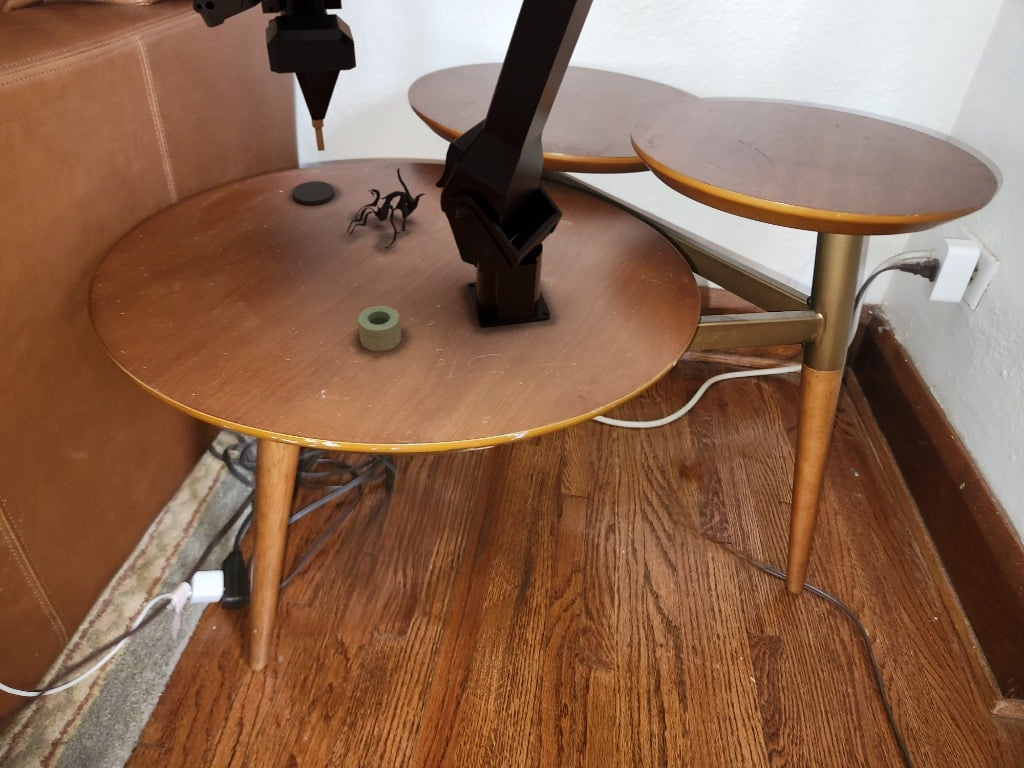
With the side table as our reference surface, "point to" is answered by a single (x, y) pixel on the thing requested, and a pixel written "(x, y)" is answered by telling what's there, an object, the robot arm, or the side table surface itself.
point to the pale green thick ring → (379, 328)
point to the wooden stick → (319, 133)
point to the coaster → (313, 193)
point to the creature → (390, 207)
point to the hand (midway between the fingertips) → (317, 116)
